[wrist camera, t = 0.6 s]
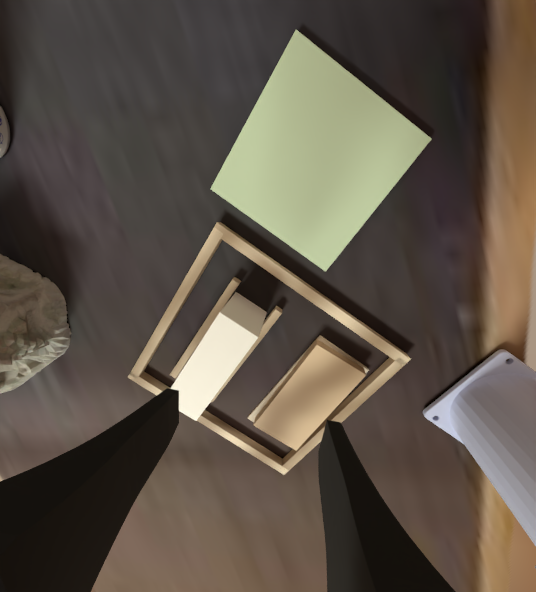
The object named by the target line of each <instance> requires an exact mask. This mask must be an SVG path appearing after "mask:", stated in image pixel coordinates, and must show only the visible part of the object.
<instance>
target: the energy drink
mask: <svg viewBox="0 0 536 592" xmlns="http://www.w3.org/2000/svg"><path fill="white" fill-rule="evenodd" d="M9 143H10V128H9V124H8V120H7V117H6V115H5V113H4V111H3V109H2V107H1V106H0V158H1V157H2V156H3V155H4V154H5V153H6V151H7V149H8V147H9Z"/></svg>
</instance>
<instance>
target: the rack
mask: <svg viewBox="0 0 536 592" xmlns="http://www.w3.org/2000/svg"><path fill="white" fill-rule="evenodd" d="M222 240H224V241H225V242H227V243H228V244H229V245H231V246H232V247H234V248H235V249H237V250H238V251H239V252H241V253H242V254H244V255H245V256H247V257H248V258H249V259H251V260H252V261H254V262H255V263H257V264H258V265H259V266H261V267H262V268H264V269H265V270H267V271H268V272H269V273H271V274H272V275H274V276H275V277H277V278H278V279H279V280H281V281H282V282H284V283H285V284H286V285H288V286H289V287H291V288H292V289H294V290H295V291H296V292H298V293H299V294H301V295H302V296H304V297H305V298H306V299H308V300H309V301H311V302H312V303H314V304H315V305H316V306H318V307H319V308H321V309H322V310H324V311H325V312H326V313H328V314H329V315H331V316H332V317H334V318H335V319H336V320H338V321H339V322H341V323H342V324H344V325H345V326H346V327H348V328H349V329H351V330H352V331H354V332H355V333H356V334H358V335H359V336H361V337H362V338H364V339H365V340H366V341H368V342H369V343H371V344H372V345H374V346H375V347H376V348H378V349H379V350H381V351H382V352H384V353H385V354H386V355H388V356H389V358H388V359H387V360H386V361H385V362H384V363H383V364H382V365H381V366H380V367H379V368H378V369H377V370H376V371H374V372H373V373H372V374H371V375H370V376H369V377H368V378H367V379H366V380H365V381H364V382H363V383H362V384H361V385H360V386H359V387H358V388H357V389H356V390H354V391H353V392H352V393H351V394H350V395H349V396H348V397H347V398H346V399H345V400H344V401H343V402H342V403H341V404H340V405H339V406H338V407H337V408H336V409H334V410H333V412H332V413H331V414H330V415H329V416H328V417H327V418H326V419H325V420H324V421H323V422H322V423H321V425H320V426H319V427H318V428H317V429H316V430H315V431H314V432H313V433H312V434H311V435H310V436H309V438H308V439H307V440H306V441H305V442H304V443H303V444H302V445H301V446H300V447H299V448H298V449H297V451H296V450H294V449H292V450H291V451H290V452H289V453H288V454H287V455H286V456H285V457H284V458H283V459H282V458H281V457H279V456H278V455H276V454H274V453H273V452H271V451H270V450H268V449H266V448H265V447H263V446H262V445H260V444H258V443H257V442H255V441H254V440H252V439H251V438H249V437H247V436H246V435H244V434H243V433H241V432H239V431H238V430H236V429H235V428H233V427H231V426H230V425H228V424H227V423H225V422H224V421H222V420H220V419H219V418H217V417H216V416H214V415H212V414H211V413H209V412H208V411H206V410H204V411H203V413H202V414H201V415H200V417H199V418H198V419H197V421H199V422H200V423H202V424H203V425H205V426H207V427H208V428H210V429H211V430H213V431H215V432H216V433H218V434H219V435H221V436H223V437H224V438H226V439H227V440H229V441H231V442H232V443H234V444H235V445H237V446H239V447H240V448H242V449H243V450H245V451H247V452H248V453H250V454H251V455H253V456H255V457H256V458H258V459H259V460H261V461H263V462H264V463H266V464H267V465H269V466H271V467H272V468H274V469H275V470H277V471H279V472H280V473H282V474H285V473H287V472H288V471H289V470H290V469H291V468H292V467H293V466H294V465H295V464H296V463H298V462H299V461H300V460H301V459H302V458H303V457H304V456H305V455H306V454H307V453H309V452H310V451H311V450H312V449H313V448H314V447H315V446H316V445H317V444H318V443H319V442H321V440H322V437H323V433H324V429H325V425H326V421H327V420H331V421H336V422H340V423H341V422H343V421H344V420H345V419H346V418H347V417H348V416H349V415H350V414H351V413H352V412H354V411H355V410H356V409H357V408H358V407H359V406H360V405H361V404H362V403H363V402H364V401H366V400H367V399H368V398H369V397H370V396H371V395H372V394H373V393H374V392H375V391H377V390H378V389H379V388H380V387H381V386H382V385H383V384H384V383H385V382H386V381H388V380H389V379H390V378H391V377H392V376H393V375H394V374H395V373H396V372H397V371H399V370H400V369H401V368H402V367H403V366H404V365H405V364H406V363H407V362H408V361H409V360H411V359H410V357H409V356H408V355H407V354H406V353H405V352H404V351H402V350H401V349H399V348H398V347H396V346H395V345H394V344H392V343H391V342H389V341H388V340H387V339H385V338H384V337H382V336H381V335H380V334H378V333H377V332H375V331H374V330H372V329H371V328H370V327H368V326H367V325H365V324H364V323H363V322H361V321H360V320H358V319H357V318H355V317H354V316H353V315H351V314H350V313H348V312H347V311H346V310H344V309H343V308H341V307H340V306H338V305H337V304H336V303H334V302H333V301H331V300H330V299H329V298H327V297H326V296H324V295H323V294H322V293H320V292H319V291H317V290H316V289H314V288H313V287H312V286H310V285H309V284H307V283H306V282H305V281H303V280H302V279H300V278H299V277H297V276H296V275H295V274H293V273H292V272H290V271H289V270H288V269H286V268H285V267H283V266H282V265H280V264H279V263H278V262H276V261H275V260H273V259H272V258H271V257H269V256H268V255H266V254H265V253H264V252H262V251H261V250H259V249H258V248H256V247H255V246H254V245H252V244H251V243H249V242H248V241H247V240H245V239H244V238H242V237H241V236H239V235H238V234H237V233H235V232H234V231H232V230H231V229H230V228H228V227H227V226H225V225H224V224H222V223H221V222H217V223H216V225H215V227H214V228H213V230H212V232H211V234H210V235H209V237H208V239H207V241H206V242H205V244H204V246H203V248H202V249H201V251H200V253H199V255H198V256H197V258H196V260H195V262H194V263H193V265H192V267H191V268H190V270H189V272H188V274H187V275H186V277H185V279H184V281H183V282H182V284H181V286H180V288H179V289H178V291H177V293H176V295H175V296H174V298H173V300H172V302H171V303H170V305H169V307H168V309H167V310H166V312H165V314H164V315H163V317H162V319H161V321H160V322H159V324H158V326H157V328H156V329H155V331H154V333H153V335H152V336H151V338H150V340H149V342H148V343H147V345H146V347H145V349H144V350H143V352H142V354H141V355H140V357H139V359H138V361H137V362H136V364H135V366H134V368H133V369H132V371H131V373H130V375H129V376H128V378H130V379H131V380H133V381H134V382H136V383H138V384H139V385H141V386H142V387H144V388H146V389H147V390H149V391H150V392H152V393H154V394H155V395H158V394H160V393H161V392H162V391H164V390H165V389H167V388H169V389H170V387H168V386H166V385H165V384H163V383H162V382H160V381H158V380H157V379H155V378H154V377H152V376H150V375H149V374H147V373H146V372H144V370H145V368H146V367H147V365H148V363H149V362H150V360H151V358H152V357H153V355H154V353H155V352H156V350H157V348H158V347H159V345H160V343H161V342H162V340H163V338H164V337H165V335H166V333H167V332H168V330H169V328H170V327H171V325H172V323H173V322H174V320H175V318H176V317H177V315H178V313H179V312H180V310H181V308H182V307H183V305H184V303H185V302H186V300H187V298H188V297H189V295H190V293H191V292H192V290H193V288H194V287H195V285H196V283H197V282H198V280H199V278H200V277H201V275H202V273H203V272H204V270H205V268H206V267H207V265H208V263H209V262H210V260H211V258H212V257H213V255H214V253H215V251H216V250H217V248H218V246H219V245H220V243H221V241H222ZM240 282H241V281H240V280H239V279H237V278H236V277H234V278H233V279H232V281H231V282H230V284H229V285H228V287H227V288H226V290H225V291H224V293H223V294H222V296H221V297H220V299H219V301H218V302H217V304H216V305H215V307H214V308H213V310H212V311H211V313H210V314H209V316H208V317H207V319H206V320H205V322H204V323H203V325H202V326H201V328H200V330H199V331H198V333H197V334H196V336H195V337H194V339H193V340H192V342H191V343H190V345H189V346H188V348H187V349H186V351H185V352H184V354H183V356H182V357H181V359H180V360H179V362H178V363H177V365H176V366H175V368H174V369H173V371H172V372H171V374H170V375H171V376H172V377H174V378H176V377H177V376H178V374H179V373H180V372H181V370H182V369H183V367H184V366H185V364H186V363H187V361H188V360H189V358H190V357H191V355H192V354H193V352H194V351H195V349H196V348H197V346H198V345H199V343H200V342H201V340H202V339H203V337H204V336H205V334H206V333H207V331H208V330H209V328H210V326H211V325H212V323H213V322H214V320H215V319H216V317H217V316H218V314H219V312H220V311H221V310H222V309H223V307H224V306H225V305H226V303H227V302H228V300H229V299H230V297H231V296H232V294H233V293H234V291H235V290H236V288H237V287H238V285H239V284H240ZM281 314H282V309H281V308H279V307H278V306H277V305H276V307H275V308H274V309H273V311H272V312H271V313H270V315H269V316H268V317H267V318H266V320H265V321H264V322H263V325H262V328H261V331H260V334H259V337H258V339H257V340H256V341H255V343H254V344H253V345H252V347H251V348H250V349H249V351H248V352H247V353H246V355H245V356H244V358H243V359H242V360H241V362H240V363H239V364H238V366H237V367H236V368H235V370H234V371H233V372H232V374H231V375H230V376H229V378H228V379H227V380H226V382H225V383H224V384H223V386H222V387H221V388H220V390H219V391H218V392H217V394H216V395H215V396H214V398H213V399H212V400H211V401H212V402H213V401H214V400H215V398H216V397H217V396H218V394H219V393H220V392H221V391H222V389H223V388H224V387H225V386H226V384H227V383H228V382H229V380H230V379H231V378H232V377H233V375H234V374H235V373H236V371H237V370H238V369H239V368H240V366H241V365H242V364H243V362H244V361H245V360H246V359H247V357H248V356H249V355H250V354H251V352H252V351H253V350H254V348H255V347H256V346H257V345H258V343H259V342H260V341H261V339H262V338H263V337H264V336H265V334H266V333H267V332H268V330H269V329H270V328H271V327H272V325H273V324H274V323H275V322H276V320H277V319H278V318H279V316H280V315H281Z"/></svg>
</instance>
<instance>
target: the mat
mask: <svg viewBox="0 0 536 592" xmlns="http://www.w3.org/2000/svg"><path fill="white" fill-rule="evenodd" d="M430 140H431V138H430V137H429V136H428V135H426V134H425V133H424V132H423V131H421V130H420V129H419V128H418V127H416V126H415V125H414V124H413V123H411V122H410V121H409V120H408V119H406V118H405V117H404V116H403V115H402V114H400V113H399V112H398V111H397V110H395V109H394V108H393V107H392V106H390V105H389V104H388V103H387V102H385V101H384V100H383V99H382V98H380V97H379V96H378V95H377V94H375V93H374V92H373V91H372V90H371V89H369V88H368V87H367V86H366V85H364V84H363V83H362V82H361V81H359V80H358V79H357V78H356V77H354V76H353V75H352V74H351V73H349V72H348V71H347V70H346V69H344V68H343V67H342V66H341V65H339V64H338V63H337V62H336V61H335V60H333V59H332V58H331V57H330V56H328V55H327V54H326V53H325V52H323V51H322V50H321V49H320V48H318V47H317V46H316V45H315V44H313V43H312V42H311V41H310V40H308V39H307V38H306V37H305V36H304V35H302V34H301V33H300V32H299V31H297V30H296V31H295V32H294V34H293V36H292V38H291V40H290V42H289V44H288V45H287V47H286V49H285V51H284V53H283V55H282V57H281V58H280V60H279V62H278V64H277V66H276V68H275V70H274V72H273V73H272V75H271V77H270V79H269V81H268V83H267V85H266V86H265V88H264V90H263V92H262V94H261V96H260V98H259V99H258V101H257V103H256V105H255V107H254V109H253V111H252V112H251V114H250V116H249V118H248V120H247V122H246V124H245V125H244V127H243V129H242V131H241V133H240V135H239V137H238V139H237V140H236V142H235V144H234V146H233V148H232V150H231V152H230V153H229V155H228V157H227V159H226V161H225V163H224V165H223V166H222V168H221V170H220V172H219V174H218V176H217V178H216V179H215V181H214V183H213V185H212V187H211V190H213V191H214V192H215V193H217V194H218V195H220V196H221V197H222V198H224V199H225V200H227V201H228V202H229V203H231V204H232V205H233V206H235V207H236V208H238V209H239V210H240V211H242V212H243V213H245V214H246V215H247V216H249V217H250V218H252V219H253V220H254V221H256V222H257V223H259V224H260V225H261V226H263V227H264V228H266V229H267V230H268V231H270V232H271V233H273V234H274V235H275V236H277V237H278V238H280V239H281V240H282V241H284V242H285V243H286V244H288V245H289V246H291V247H292V248H293V249H295V250H296V251H298V252H299V253H300V254H302V255H303V256H305V257H306V258H307V259H309V260H310V261H312V262H313V263H314V264H316V265H317V266H319V267H320V268H321V269H323V270H324V271H327V269H328V268H329V267H330V266H331V264H332V263H333V262H334V261H335V259H336V258H337V257H338V256H339V254H340V253H341V252H342V251H343V249H344V248H345V247H346V246H347V244H348V243H349V242H350V241H351V239H352V238H353V237H354V236H355V234H356V233H357V232H358V231H359V229H360V228H361V227H362V226H363V224H364V223H365V222H366V221H367V219H368V218H369V217H370V215H371V214H372V213H373V212H374V210H375V209H376V208H377V207H378V205H379V204H380V203H381V202H382V200H383V199H384V198H385V197H386V195H387V194H388V193H389V192H390V190H391V189H392V188H393V187H394V185H395V184H396V183H397V182H398V180H399V179H400V178H401V177H402V175H403V174H404V173H405V172H406V170H407V169H408V168H409V167H410V165H411V164H412V163H413V162H414V160H415V159H416V158H417V157H418V155H419V154H420V153H421V152H422V150H423V149H424V148H425V147H426V145H427V144H428V143H429V142H430Z"/></svg>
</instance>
